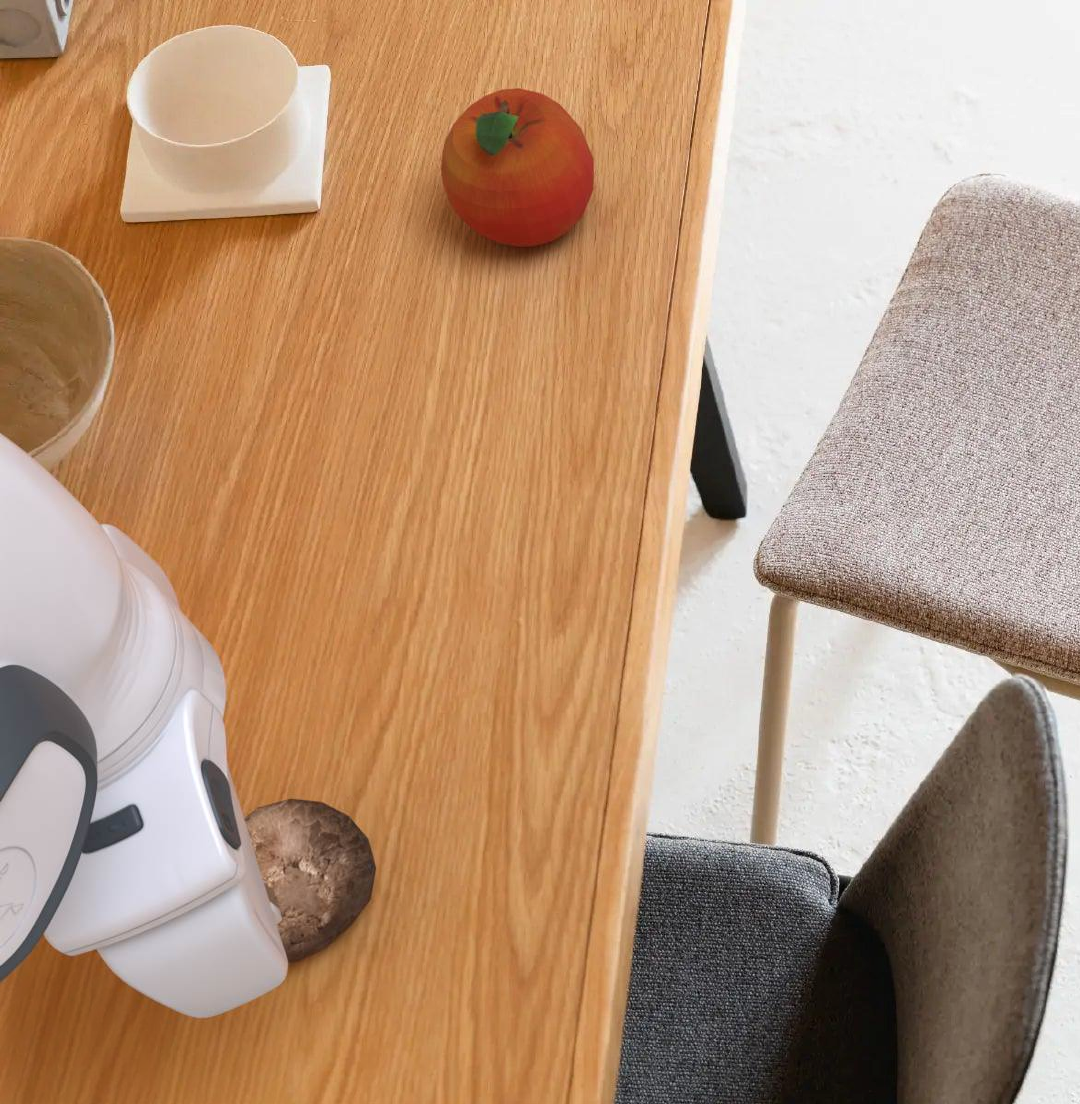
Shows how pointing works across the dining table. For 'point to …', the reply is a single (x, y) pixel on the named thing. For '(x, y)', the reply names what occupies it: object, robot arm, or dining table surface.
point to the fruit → (517, 168)
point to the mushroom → (312, 871)
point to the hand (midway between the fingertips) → (232, 820)
